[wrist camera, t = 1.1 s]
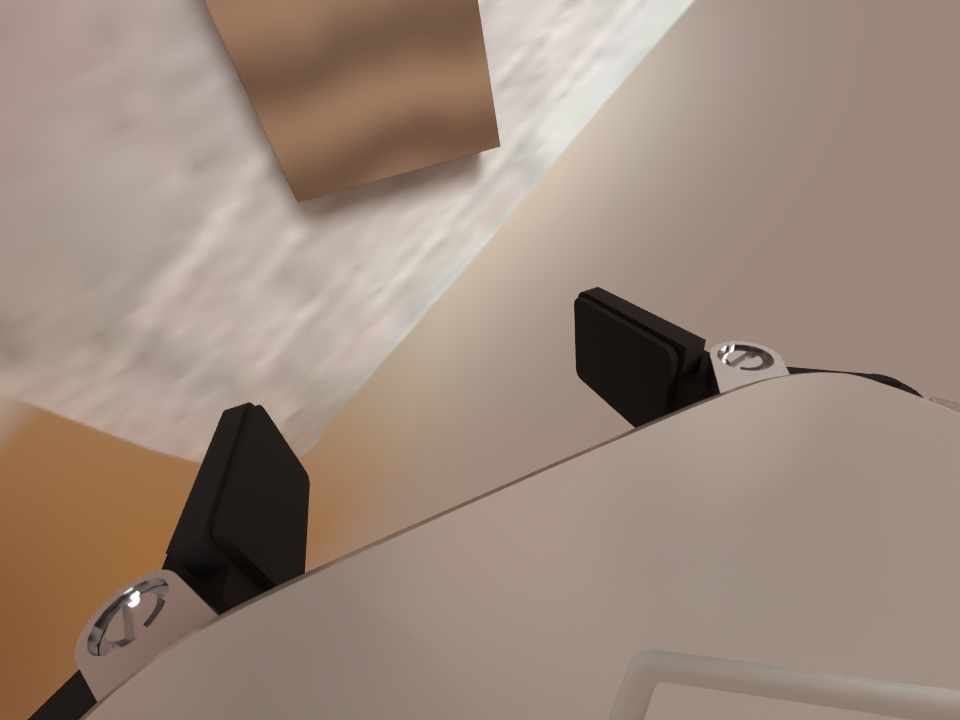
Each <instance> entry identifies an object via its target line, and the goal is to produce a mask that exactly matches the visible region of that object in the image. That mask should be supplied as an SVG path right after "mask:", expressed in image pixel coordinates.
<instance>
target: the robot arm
mask: <svg viewBox="0 0 960 720" xmlns="http://www.w3.org/2000/svg"><path fill="white" fill-rule="evenodd" d="M574 313H575V344H576V345H575V348H576V371H577V374H578V376H579V378H580V379H581V380H582V381H583V382H584V383H586V384H587V385H588V386H589V387H590V388H591V389H592V390H593V391H595V392H596V393H597V394H598V395H599V396H600V397H601V398H603V399H604V400H605V401H606V402H607V403H608V404H609V405H610V406H611V407H612V408H614V409H615V410H616V411H617V412H618V413H619V414H620V415H621V416H622V417H624V418H625V419H626V420H627V421H628V422H629V423H630V424H632V425H633V426H634V427H635V429H632V430H630V431H628V432H625V433H623V434H621V435H618V436H616V437H614V438H611V439H609V440H607V441H604V442H602V443H600V444H597V445H595V446H593V447H590V448H588V449H586V450H583V451H581V452H579V453H577V454H574V455H572V456H570V457H567V458H565V459H563V460H560V461H558V462H556V463H553V464H551V465H549V466H546V467H544V468H542V469H539V470H537V471H535V472H532V473H530V474H528V475H526V476H523V477H521V478H519V479H517V480H514V481H512V482H510V483H507V484H505V485H503V486H500V487H498V488H496V489H494V490H491V491H489V492H487V493H484V494H482V495H480V496H477V497H475V498H473V499H471V500H468V501H466V502H464V503H461V504H459V505H457V506H455V507H452V508H450V509H448V510H446V511H443V512H441V513H439V514H437V515H434V516H432V517H430V518H427V519H426V520H423V521H421V522H418V523H416V524H414V525H412V526H410V527H407V528H405V529H403V530H400V531H398V532H396V533H393V534H391V535H389V536H387V537H385V538H382V539H380V540H378V541H376V542H373V543H371V544H369V545H366V546H364V547H362V548H360V549H357V550H355V551H353V552H351V553H348V554H346V555H344V556H342V557H340V558H337V559H335V560H333V561H331V562H329V563H326V564H324V565H322V566H320V567H318V568H316V569H313V570H311V571H309V572H307V573H305V558H306V539H307V522H308V505H309V487H310V484H309V483H310V482H309V477H308V475H307V472H306V471H305V469H304V468H303V466H302V465H301V463H300V462H299V460H298V459H297V457H296V456H295V454H294V453H293V451H292V450H291V448H290V447H289V445H288V444H287V442H286V441H285V439H284V438H283V436H282V435H281V433H280V432H279V430H278V428H277V427H276V425H275V424H274V422H273V421H272V419H271V418H270V416H269V415H268V413H267V412H266V410H265V409H264V408H263V407H262V406H261V405H257V406H254V405H253V404H252V403H246V404H243V405H240V406H237V407H233V408H230V409H227V410H225V411H224V412H223V413H222V416H221V418H220V421H219V423H218V426H217V428H216V431H215V433H214V436H213V438H212V440H211V443H210V445H209V448H208V450H207V453H206V455H205V458H204V460H203V463H202V465H201V468H200V470H199V472H198V475H197V477H196V480H195V482H194V485H193V487H192V490H191V492H190V495H189V497H188V499H187V502H186V505H185V507H184V509H183V512H182V514H181V517H180V519H179V522H178V524H177V527H176V529H175V532H174V534H173V537H172V539H171V541H170V544H169V546H168V549H167V551H166V554H167V557H166V560H165V562H164V565H163V567H162V569H161V570H156V571H153V572H150V573H147V574H145V575H143V576H141V577H139V578H137V579H135V580H134V581H132V582H130V583H128V584H127V585H126V586H124V587H123V588H122V589H121V590H119V591H118V592H116V593H115V594H114V595H113V596H112V597H111V598H110V599H109V600H108V601H107V602H106V603H104V605H102V606H101V607H100V608H99V610H98V611H97V612H96V613H95V614H94V616H93V617H92V618H91V619H90V621H89V622H88V623H87V625H86V627H85V628H84V630H83V632H82V633H81V635H80V637H79V639H78V642H77V645H76V649H75V652H74V653H75V660H76V664H77V665H78V667H79V670H78V671H77V672H76V673H75V674H74V675H73V676H72V677H71V678H70V679H69V680H68V681H67V682H66V683H65V684H64V685H63V686H62V687H61V688H60V689H59V690H58V691H57V692H56V693H55V694H53V696H51V697H50V699H48V700H47V701H46V702H45V703H44V704H43V705H42V706H41V707H40V708H39V709H38V710H37V711H36V712H35V713H34V714H33V715H32V716H31V717H30V718H29V719H28V720H960V403H959V402H954V401H949V400H945V399H940V398H935V397H931V398H930V400H926V399H924V398H923V397H922V396H921V395H920V394H919V393H918V392H917V391H916V390H914V389H912V388H911V387H909V386H907V385H905V384H903V383H901V382H900V381H898V380H896V379H894V378H891V377H888V376H884V375H879V374H864V373H852V372H840V371H829V370H817V369H806V368H795V367H786V366H785V364H784V362H783V360H782V359H781V357H780V356H779V355H778V354H777V353H776V352H774V351H773V350H771V349H769V348H767V347H764V346H762V345H759V344H754V343H749V342H741V341H733V342H725V343H720V344H718V345H716V346H714V347H713V348H712V349H711V351H710V353H709V352H707V351H705V350H704V346H705V341H706V340H705V339H703V338H701V337H699V336H697V335H694V334H692V333H690V332H688V331H686V330H684V329H682V328H680V327H678V326H676V325H674V324H672V323H670V322H668V321H666V320H664V319H662V318H660V317H658V316H656V315H654V314H652V313H650V312H648V311H646V310H644V309H642V308H640V307H638V306H636V305H634V304H632V303H630V302H628V301H626V300H624V299H622V298H620V297H618V296H616V295H614V294H611V293H610V292H608V291H606V290H603V289H601V288H599V287H596V288H593V289H590V290H587V291H584V292H581V293H580V294H579V296H578V298H577V299H576V300H575V302H574Z"/></svg>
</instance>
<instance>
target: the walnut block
mask: <svg viewBox="0 0 960 720" xmlns="http://www.w3.org/2000/svg"><path fill="white" fill-rule="evenodd" d="M204 1H205V4H206V6H207V8H208V10H209V12H210V14H211V17H212V19H213V21H214V23H215V25H216V27H217V30H218V32H219V34H220V36H221V38H222V40H223V43H224V45H225V47H226V49H227V51H228V53H229V55H230V58H231V60H232V62H233V64H234V66H235V68H236V71H237V73H238V75H239V77H240V79H241V81H242V84H243V86H244V88H245V90H246V92H247V94H248V96H249V99H250V101H251V103H252V105H253V107H254V109H255V112H256V114H257V116H258V118H259V120H260V122H261V125H262V127H263V129H264V131H265V133H266V135H267V138H268V140H269V142H270V144H271V146H272V148H273V150H274V153H275V155H276V157H277V159H278V161H279V163H280V166H281V168H282V170H283V172H284V174H285V176H286V179H287V181H288V183H289V185H290V187H291V189H292V191H293V194H294V196H295V198H296V200H297V202H301V201H304V200H308V199H311V198H315V197H319V196H322V195H326V194H330V193H333V192H337V191H340V190H344V189H348V188H351V187H355V186H359V185H362V184H366V183H370V182H373V181H377V180H380V179H384V178H388V177H391V176H395V175H399V174H402V173H406V172H409V171H413V170H417V169H420V168H424V167H428V166H431V165H435V164H438V163H442V162H446V161H449V160H453V159H457V158H460V157H464V156H468V155H471V154H475V153H478V152H482V151H486V150H489V149H493V148H497V147H500V142H499V135H498V129H497V122H496V116H495V109H494V103H493V96H492V90H491V83H490V77H489V71H488V64H487V58H486V51H485V45H484V38H483V32H482V25H481V19H480V12H479V6H478V0H204Z"/></svg>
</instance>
